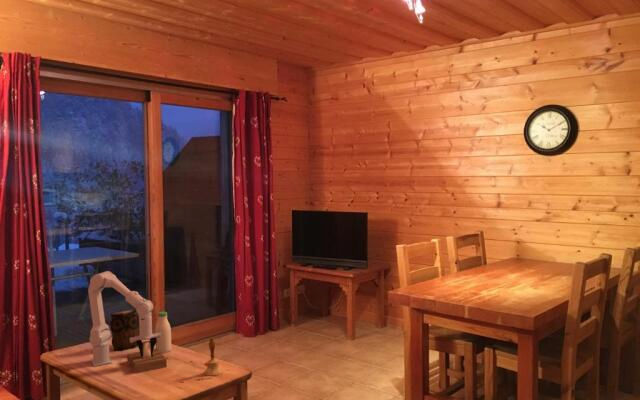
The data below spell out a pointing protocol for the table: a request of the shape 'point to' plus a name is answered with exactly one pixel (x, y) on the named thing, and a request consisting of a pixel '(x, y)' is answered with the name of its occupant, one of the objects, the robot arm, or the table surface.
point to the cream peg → (146, 349)
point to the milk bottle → (163, 333)
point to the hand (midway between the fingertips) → (146, 354)
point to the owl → (124, 329)
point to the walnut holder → (146, 361)
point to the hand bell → (212, 362)
